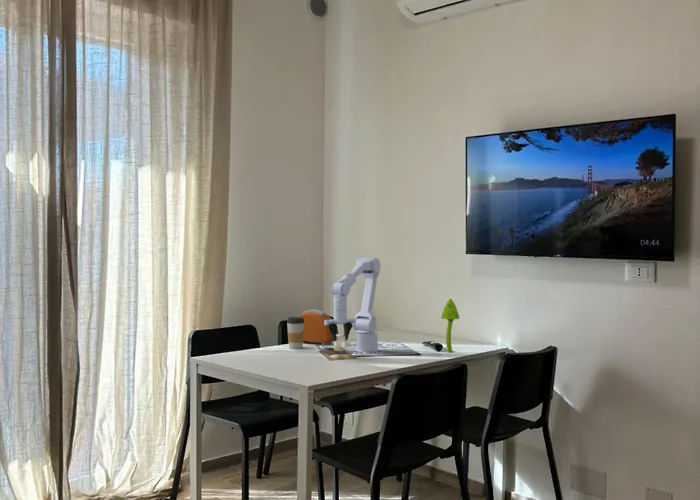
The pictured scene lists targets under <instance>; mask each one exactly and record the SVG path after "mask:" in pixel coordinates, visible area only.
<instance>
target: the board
mask: <svg viewBox="0 0 700 500" xmlns="http://www.w3.org/2000/svg"><path fill="white" fill-rule="evenodd" d="M317 352H318V353H320V354H321V355H322V356H323V357H324V358H326V359H327V360H328V361H347V360H359V358H358V357H356V355H353V354H352V353H350V352H349V351H347V350H346V354H345V355H350V358H345V359H335V358H331V357H330V356H331V355H328V354H326V353H325V352H324V349H322V350H317Z"/></svg>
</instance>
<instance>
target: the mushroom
mask: <svg viewBox="0 0 700 500" xmlns="http://www.w3.org/2000/svg"><path fill="white" fill-rule="evenodd" d="M440 317H441V319H443V320H447V321H448V322H447V328H446V335H445V341H446V349H447V352H448V353H453V348H452V328H453V321H454V320H460V315H459V311H458V308H457V306H456V304H455V301H453V300H452V298H449V299H448V300H447V301H446V304H445V306H444V308H443V310H442V314H441V316H440Z"/></svg>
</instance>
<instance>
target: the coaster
mask: <svg viewBox="0 0 700 500" xmlns="http://www.w3.org/2000/svg"><path fill="white" fill-rule="evenodd" d="M330 357H331V358H335V359H345V358H350V355H345V354H335V355H331V356H330Z"/></svg>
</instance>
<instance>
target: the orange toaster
mask: <svg viewBox="0 0 700 500" xmlns="http://www.w3.org/2000/svg"><path fill="white" fill-rule="evenodd" d="M297 317H303V319H304V334H303V342H308V343H309V342H311V343H317V344H318V343H319V344H320V343H321V346H328V345H330V344H332V343H334V341H333V338H332V334H331V331H330V329H329V327H328V325H325V324H324V320H331V319H332V317H331V316H329V314H327V313H326V312H324V311H323V310H319V309H308V310H304V311H302V313H300V315H297ZM335 325H336V326H337V324H335ZM336 334H339V331H338V329H337V332H336Z"/></svg>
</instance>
